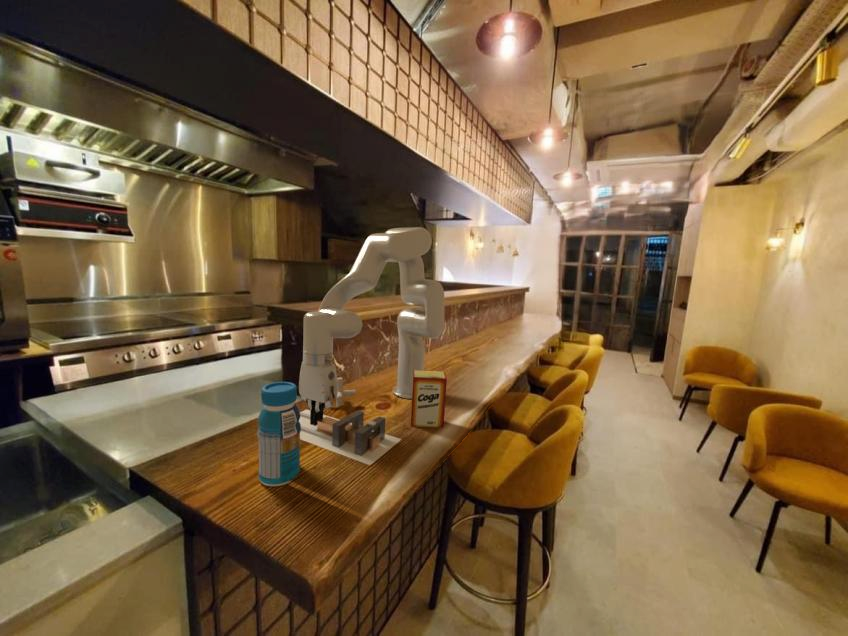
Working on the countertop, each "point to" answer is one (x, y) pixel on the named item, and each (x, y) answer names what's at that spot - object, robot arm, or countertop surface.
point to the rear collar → (339, 427)
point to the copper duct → (348, 432)
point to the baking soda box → (428, 398)
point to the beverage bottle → (279, 434)
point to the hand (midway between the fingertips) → (316, 423)
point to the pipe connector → (342, 392)
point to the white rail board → (348, 450)
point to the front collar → (362, 434)
